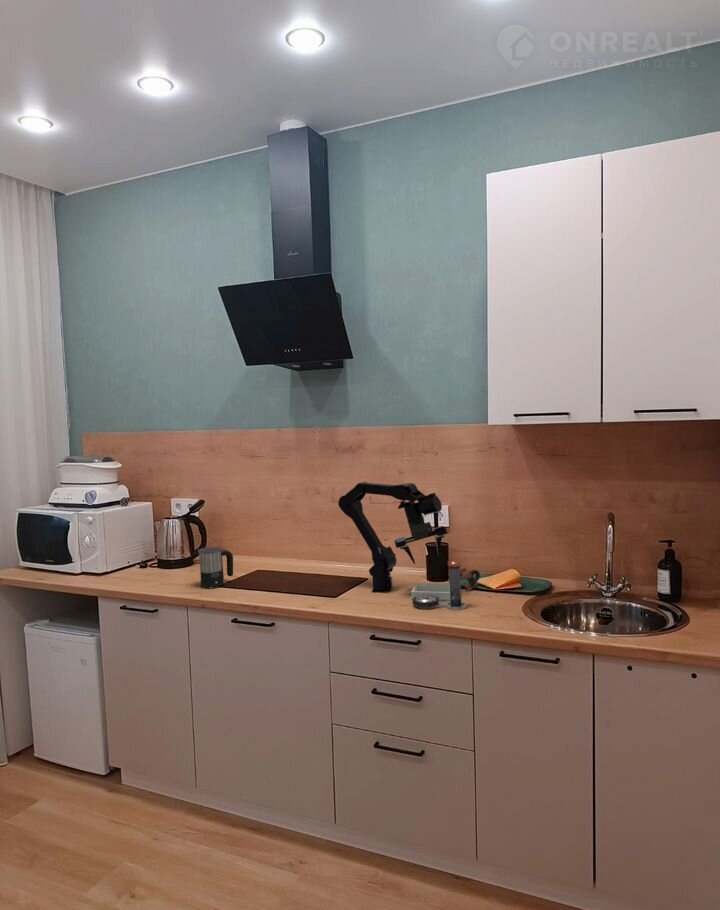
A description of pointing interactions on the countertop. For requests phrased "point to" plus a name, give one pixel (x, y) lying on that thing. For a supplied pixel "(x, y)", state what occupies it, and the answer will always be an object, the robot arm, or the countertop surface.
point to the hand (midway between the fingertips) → (427, 560)
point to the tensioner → (433, 603)
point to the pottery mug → (469, 578)
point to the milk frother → (214, 566)
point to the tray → (432, 591)
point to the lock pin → (455, 583)
